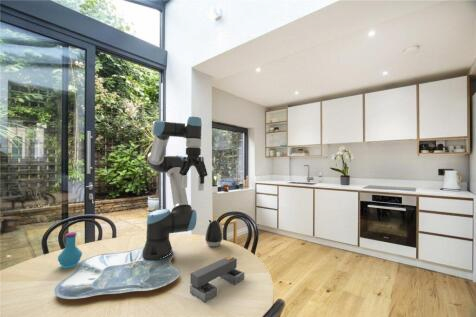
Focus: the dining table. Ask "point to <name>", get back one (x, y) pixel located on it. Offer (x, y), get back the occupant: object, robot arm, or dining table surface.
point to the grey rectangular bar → (212, 271)
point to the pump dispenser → (213, 234)
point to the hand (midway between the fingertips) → (192, 189)
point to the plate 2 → (233, 276)
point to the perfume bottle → (70, 252)
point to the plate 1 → (201, 294)
